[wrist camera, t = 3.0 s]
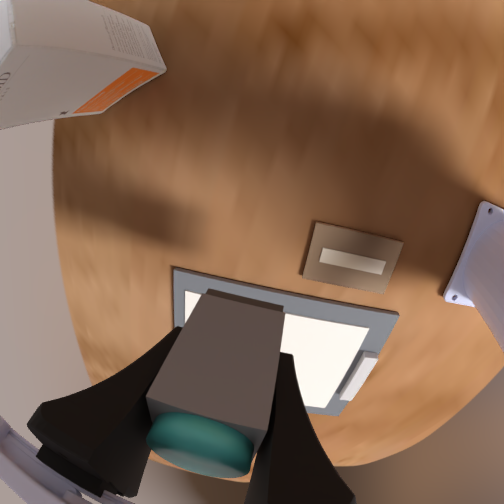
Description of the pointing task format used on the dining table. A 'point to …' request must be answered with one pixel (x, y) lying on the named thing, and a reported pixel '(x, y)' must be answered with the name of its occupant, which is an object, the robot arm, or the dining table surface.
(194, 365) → the teal-capped grey stamp
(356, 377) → the clipboard
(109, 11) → the skincare box
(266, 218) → the dining table surface
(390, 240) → the word placard
